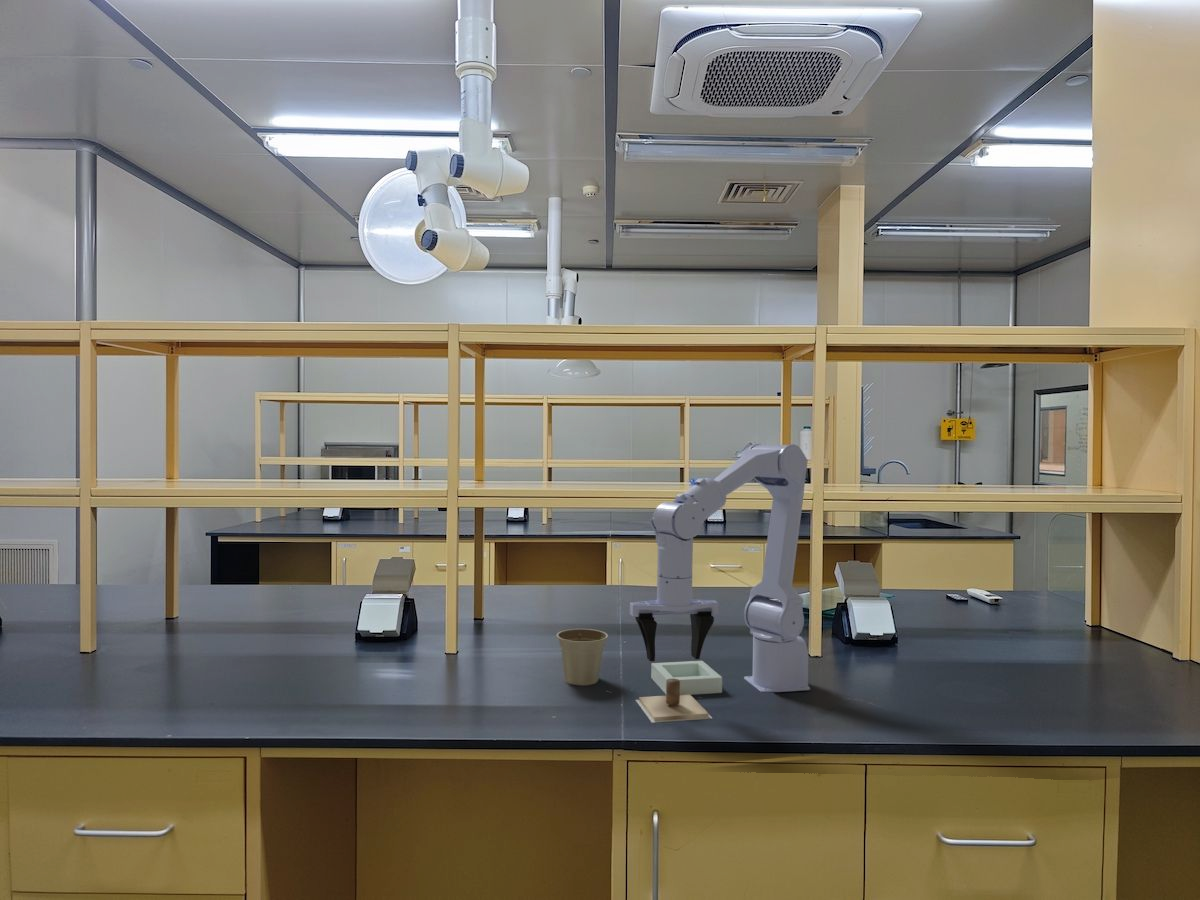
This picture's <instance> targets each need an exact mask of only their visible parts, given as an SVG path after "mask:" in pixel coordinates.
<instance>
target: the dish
mask: <svg viewBox="0 0 1200 900" xmlns="http://www.w3.org/2000/svg"><path fill="white" fill-rule="evenodd" d="M650 664H651V667H650V668H651V671H650V672H651V673H650V674H651V675H650V677H651V679H652V680H653V681H654V683H655V684H656V685H657V686H658V688H660V689H661V691H662V692H663V693H664V694H665V695H666V680H667V679H678V680H680V695H684V694H690V695H691V696H692V695H707V694H709V695H710V694H721V693H723V677H722V675H720V674H718V672H716V671H715V670H714V669H713V668H711V667H710V666H709V664H707V663H705V661H703V660H690V661H689V660H688V661H671V662H670V661H669V662H668V661H666V662H652V663H650Z"/></svg>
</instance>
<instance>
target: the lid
mask: <svg viewBox="0 0 1200 900" xmlns="http://www.w3.org/2000/svg"><path fill="white" fill-rule="evenodd" d="M638 700H639V701H640V703H641V704H642V705H643V707H644V708H645V710H646V711H647V712H648V714H649V715H650V716H651V718H652V719H653V720H654V721H662V720H677V719H691V718H706V717H709V715H710V714H709V713H708V711H707V710H706V709H705V708H704V707H703V706H702V704H700V703H699V702H698V701H697V700H696V699H695V698H694V697H693V696H692V695H690V694H684V695H680V680H678V679H667V680H666V694H665V695H655V696H639V697H638Z"/></svg>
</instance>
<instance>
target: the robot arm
mask: <svg viewBox="0 0 1200 900" xmlns="http://www.w3.org/2000/svg"><path fill="white" fill-rule="evenodd" d="M808 462H809V461H808V458H807V457H806V455H805V453H804V452H803V450H802V449H801V447H800V446H799V445H796V444H794V443H790V444H761V443H760V444H759V443H755V444H752V445H750V446H749V447H748V448H747V449H744V450H742V452H741V456H740V457H739V458H738V459H737V460H735V461H734V462H733V463H732V464H731V465H729V466H728V467H727V468H726V469H725V470H723V471H722V472H721V473H719V475H717V476H716V477H715V478H714V479H713V478H710V477H705V478H701V477H699V478H697V479H696V480H695V481H694V485H692V487H690V488H689V489H687V490H686V491H684V492H682V493H678V494H677V495H676V496H675V499H673V501H664V502H661V503H660V504H659V505H657V506H656V508H655V510H654V512H653V514H652V517H651V518H649V521H650V526H651V527H650V528H651V529H652V531H653V532H654V535H655V543H656V545H657V563H656V564H657V566H656V567H657V568H656V569H657V570H656V572H657V573H656V574H657V575H656V576H657V577H656V583H657V584H656V599H654V600H652V599H651V600H644V601H643V600H642V601H636V602H635V601H633V602H629V615H630V616H632V617H633V618H635V621H636V623H637V625H638V627H639V630H640V633H641V635H642V639H643V643H644V646H645V647H644V648H645V651H646V659H648V662H649V661H650V662H655V659H656V642H655V641H656V634H657V633H656V631H657V625H658V623H657V621H656V620H655V616H664V615H666V616H667V615H668V616H669V615H670V616H671V615H689V617H690V627H691V628H690V629H691V642H690V643H691V644H690V645H691V647H690V653H691V654H690V655H691V657H693V658H694V659H695V660H700V657H701V654H702V649H703V645H704V643H705V639H706V638H707V635H708V633H709V631H710V630H711V628H712V626H713V625H714V622H715V617H714V616H713V615H718V614H719V602H718V601H716V600H715V599H693V555H694V554H693V551H694V548H693V547H694V537H697V535H698V534H699V533H700V530H701V528H702V525H703V523H705V521H706V520H707V519H708V518H710V517H711V516H712V515H714V514H715V513H717V511H719V510H720V509H722V508H723V507H724V506H725V505H726V502H727V496H728V495H729V494H731V493H733V492H734V491H736V490H737V489H739V488H740V487H742V486H744V485H745V484H747V483H748V482H749V481H752V480H753V479H754V480H755V481H756V482H757V483H758V484H760V485H761V486H762V487H763V488H765V489H766V490H767V491H768V493H769V494H770V495H771V497H772V502H771V508H770V509H771V511H770V516H769V523H768V524H769V525H768V530H767V531H768V533H767V539H766V547H765V553H764V554H765V556H764V562H763V569H762V570H763V571H762V577H761V580H760V582H758V583H757V584H756V585H754V586H753V587H752V588H751V589H750V594H749V598H748V601H747V602H746V604H745V607H744V609H743V619H744V623H745V625H746V626H747V627H748V628H749V633H750V635H752V675H748V676H747V675H746V676H744V677H743V679H744V680H745V681H746V682H747V683H749V684H750V685H752V686H753V687H754V688H755V689H756V690H758V691H760V693H782V692H783V693H784V692H785V693H786V692H787V693H788V692H798V691H799V692H801V691H811V686H809V650H808V646H807V643H806V641H805V639H804V638H803V637H802V636H800V634H801V633H802V631H803V628H804V626H805V625H804V624H805V616H804V611H803V607H804V606H803V603H804V599H803V597H802V596H801V595H800V594H799V592H797V590H796V589H795V588H794V586H793V582H794V581H793V580H794V572H795V566H796V565H795V564H796V556H797V549H798V541H799V535H800V534H799V533H800V527H801V518H802V511H803V503H804V496H805V485H806V477H807V469H808ZM774 599H775V600H774Z"/></svg>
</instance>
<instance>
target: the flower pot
mask: <svg viewBox="0 0 1200 900" xmlns="http://www.w3.org/2000/svg"><path fill="white" fill-rule="evenodd" d="M556 638H557V639H558V643H559V646H560V649H561V650H560V651H561V660H562V670H563V680H564V682H565V683H567V684H569V685H574V686H575V685H576V686H590V685H594V684H596V683H598V681H599V678H600V670H601V663H602V657H603V652H604V647H605V646H606V640H608V638H609V635H608V633H606V632H605V631H602V630H598V629H591V628H571V629H565V630H561V631H558V632H557V633H556Z"/></svg>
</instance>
